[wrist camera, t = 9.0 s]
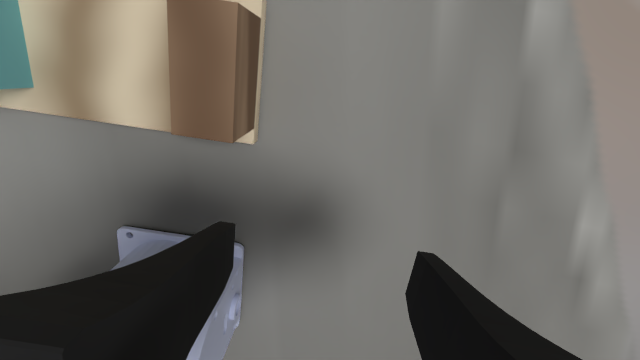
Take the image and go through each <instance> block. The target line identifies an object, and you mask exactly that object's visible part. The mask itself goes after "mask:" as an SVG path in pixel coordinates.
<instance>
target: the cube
mask: <svg viewBox="0 0 640 360" xmlns="http://www.w3.org/2000/svg"><path fill="white" fill-rule="evenodd" d="M17 88H34V85H33V80H32V74H31V69H30V63H29V58H28V53H27V47H26V42H25V36H24V31H23V25H22V20H21V14H20V9H19V3H18V0H0V89H17Z"/></svg>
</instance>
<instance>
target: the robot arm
mask: <svg viewBox="0 0 640 360" xmlns="http://www.w3.org/2000/svg"><path fill="white" fill-rule="evenodd" d="M130 233H132V234H133V235H131V234H130ZM234 239H235V224H233V223H227V222H218V223H215V224H214V225H212V226H210V227H208V228H206V229H204V230H202V231H200V232H199V233H197V234H195V235H193V236H188V235H181V234H175V233H168V232H161V231H155V230H148V229H141V228H135V227H128V226H122V227H120V228H119V229H118V230H117V240H118V249H119V258H120V262H119V263H118V264H117V265H116V266H114V267H113V268H112V269H111V270H110V271H108V272H104V273H101V274H98V275H95V276H91V277H88V278H84V279H80V280H76V281H72V282H69V283H64V284H60V285H55V286H51V287H46V288H41V289H37V290H31V291H25V292H20V293H14V294H8V295H2V296H0V360H223V357H224V355H225V352H226V350H227V347H228V345H229V342H230V340H231V337H232V335H233V332H234V330H235V328H236V327H237V326H238V325H239V323H240V311H241V301H242V295H241V294H242V277H243V260H244V247H243V246H242V245H241V244H239V243H235V242H234ZM405 294H406V300H407V307H408V313H409V318H410V322H411V325H412V328H413V332H414V335H415V338H416V342H417V345H418V348H419V351H420V355H421V358H422V360H582V359H580V358H578V357H576V356H575V355H573V354H571V353H569V352H567V351H566V350H564V349H562V348H561V347H559V346H557V345H555V344H554V343H552V342H550V341H549V340H547V339H545V338H544V337H542V336H540V335H539V334H537V333H536V332H534V331H532V330H531V329H529V328H528V327H526V326H525V325H523V324H522V323H520V322H519V321H518V320H516V319H515V318H513V317H512V316H510V315H509V314H507V313H506V312H505V311H503V310H502V309H500V308H499V307H498V306H497V305H495V304H494V303H493V302H491V301H490V300H489V299H488V298H486V297H485V296H484V295H482V294H481V293H480V292H479V291H478V290H476V289H475V288H474V287H473V286H472V285H470V284H469V283H468V282H467V281H466V280H464V279H463V278H462V277H461V276H460V275H459V274H458V273H456V272H455V271H454V270H453V269H452V268H451V267H450V266H448V265H447V264H446V263H445V262H444V261H443V260H441V259H440V258H439V257H438V256H436V255H435V254H433V253H427V252H420V251H418V252H417V256H416V259H415V263H414V266H413V269H412V273H411V276H410V280H409V283H408V287H407V290H406V293H405Z"/></svg>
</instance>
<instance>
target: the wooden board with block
mask: <svg viewBox="0 0 640 360" xmlns="http://www.w3.org/2000/svg"><path fill="white" fill-rule="evenodd" d="M266 2H267V1H266V0H18V3H19V9H20V14H21V20H22V25H23V31H24V36H25V42H26V47H27V53H28V58H29V63H30V69H31V74H32V80H33V85H34V88H17V89H0V107H4V108H11V109H18V110H25V111H31V112H38V113H45V114H52V115H58V116H65V117H72V118H79V119H85V120H92V121H99V122H106V123H112V124H119V125H126V126H133V127H139V128H146V129H153V130H160V131H166V132H171V134H174V135H181V136H187V137H194V138H201V139H207V140H214V141H221V142H228V143H234V142H240V143H247V144H254V143H255V142H257V137H258V122H259V107H260V92H261V77H262V62H263V47H264V32H265V17H266Z"/></svg>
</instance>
